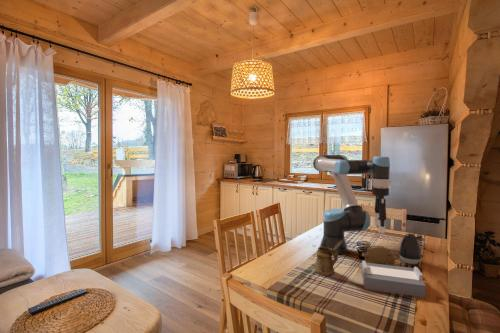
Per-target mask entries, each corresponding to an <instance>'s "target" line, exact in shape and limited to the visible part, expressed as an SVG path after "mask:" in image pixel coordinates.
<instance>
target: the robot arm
mask: <svg viewBox="0 0 500 333" xmlns="http://www.w3.org/2000/svg"><path fill="white" fill-rule="evenodd" d="M390 161H391V160H390V157H389V156H373V159H356V160H355V159H348V157H347V156H346V155H343V154H321V155H318V156H316V157H315V158H314V160H313V161H312V166H313V168H314V169H315V171H317V172H322V173H328V172H329V175H330V177H332V178H333V179H334V182H335V187H336V190H337V193H338V195H339V198H340V202H341V204H342V207H343V208H331V209H327V210H326V211H324V213H323V218H322V219H323V220H322V221H323V235H322V239H321V240H320V245H319V247H328V248H330V249H332V248H333V247H334V245H335V244H336V243H338V242H339V241H340V240H343V242H342V243H341V244H340V246H339V247H338V248H337V249H336V251H337V254H338V255H344V254H346V253H347V252H348V246H347V242H346V240H345V233H348V232H364V231H367V230H368V229H369V228H370V225H371V217H370V213H369V212H368V211H367V210H364V209H363V206H362V205H360V204H359V203H358V201H357V198H356V195H355V193H354V190H353V188H352V185H351V181H350V179H349V177H348V175H372V180H371V182H372V184H371V185H372V187H371V188H372V190H371V191H372V192H371V193H372V195H373V196H375V199H374V200H375V201H374V202H375V203H374V226H378V233H379V234H386V221H387V208H386V206H387V205H386V200H387V199H386V198H385V197H388V196H390V188H389V187H390V184H391V180H390V171H391V170H390V166H391V163H390Z"/></svg>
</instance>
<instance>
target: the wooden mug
mask: <svg viewBox="0 0 500 333" xmlns="http://www.w3.org/2000/svg"><path fill="white" fill-rule="evenodd" d="M342 242H343V240H340V241H339V242H338V243H336V244H335V245H334V247H333V248H332V249H330V248H328V247H320V246H319V247H318V248H317V251H316V260H315V265H314V269H313V271H314V273H316V274H317V275H319V276H324V277H326V276H331V275H333V274H334V273H335V268H334V265H335V264H336V263H337V262H338V260H339V256H338V255H339V254H337V251H336V249H337V248H338V247H339V246H340V244H341V243H342Z"/></svg>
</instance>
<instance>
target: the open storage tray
mask: <svg viewBox="0 0 500 333" xmlns="http://www.w3.org/2000/svg"><path fill="white" fill-rule="evenodd" d="M360 269H361V271H360V273H361V278H362V282H363V287H364V290H368V291H369V290H370V291H377V292H382V291H383V293H389V292H390V294H395V293H399V294H398V295H402V294H405V295H404V296H408V295H412V296H411V297H415V296H417V297H416V298H421V299H422V298H424V299H426V292H427V291H426V288H427V286H426V284H425V282H424V280H423V277H424V275H423V273H422V272H421V270H420V269H419V268H418V266H414V267H406V266H399V265H398V266H396V265H390V264H385V265H382V264H374V263H369V262H367V261H365V260H362V261H361V268H360Z"/></svg>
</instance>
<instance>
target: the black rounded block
mask: <svg viewBox="0 0 500 333" xmlns="http://www.w3.org/2000/svg"><path fill="white" fill-rule="evenodd" d="M422 238H423V236H422V235H417V236H416V235H415V234H414V233H410V232H409V233H406V234H404V235H403V237H402V239H401V241H400V244H399V247H398V248H399V249H398V255H399V258H400V260H401V261H403V263H405V264H409V265H417V264H418V263H420V261H421V259H422V256H423V255H422V249H421V245H420V242H419V239H422Z"/></svg>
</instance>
